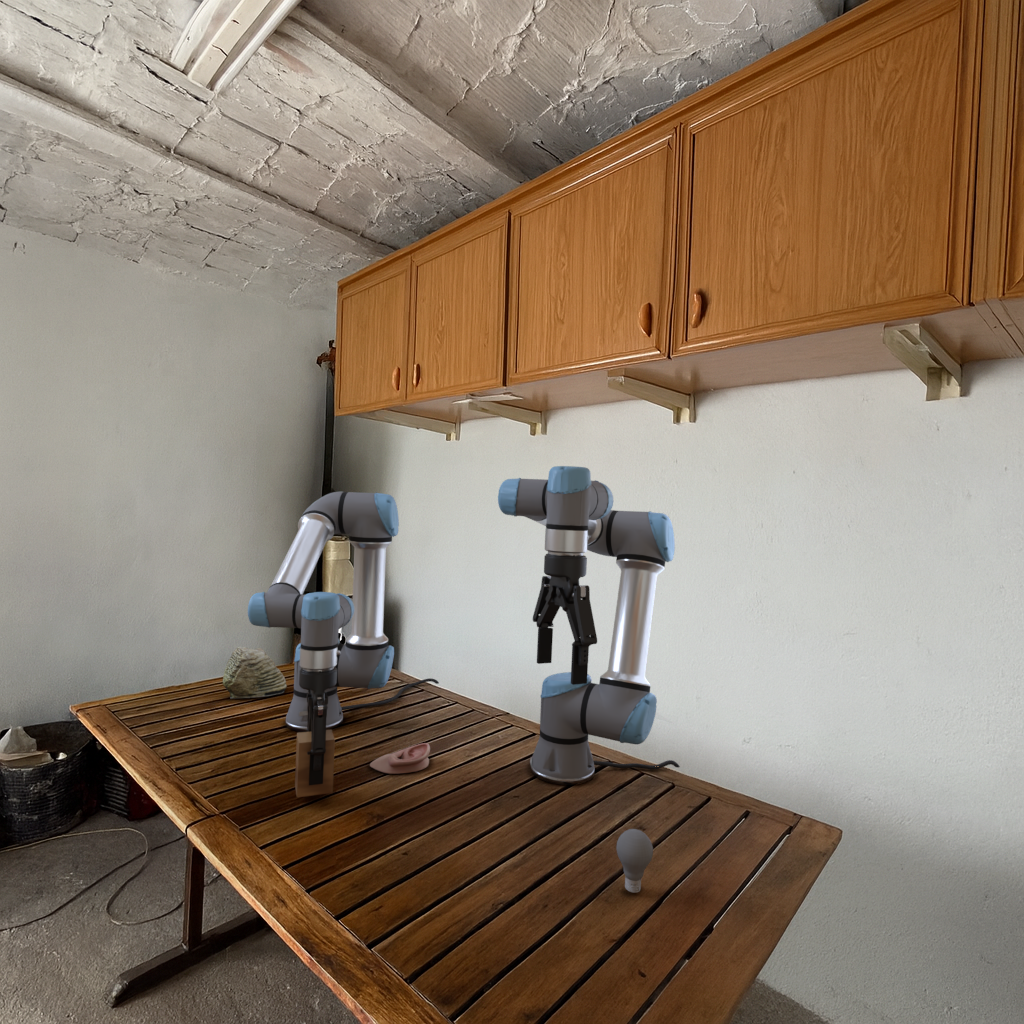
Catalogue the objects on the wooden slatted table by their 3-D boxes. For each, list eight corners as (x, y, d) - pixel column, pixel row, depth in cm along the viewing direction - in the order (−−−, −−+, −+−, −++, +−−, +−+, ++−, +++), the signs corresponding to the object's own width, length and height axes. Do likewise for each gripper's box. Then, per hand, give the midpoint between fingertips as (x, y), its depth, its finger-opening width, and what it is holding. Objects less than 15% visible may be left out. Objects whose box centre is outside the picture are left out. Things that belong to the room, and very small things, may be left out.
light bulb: (610, 879, 108) (613, 822, 108) (644, 879, 109) (647, 822, 109) (619, 902, 102) (622, 840, 102) (655, 901, 103) (658, 840, 103)
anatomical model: (364, 753, 147) (384, 735, 158) (364, 770, 147) (383, 751, 158) (419, 760, 144) (435, 742, 155) (418, 778, 144) (434, 758, 156)
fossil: (218, 695, 195) (220, 647, 195) (278, 685, 208) (279, 640, 207) (228, 703, 189) (230, 653, 188) (289, 692, 201) (290, 645, 201)
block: (296, 797, 129) (298, 743, 128) (294, 785, 134) (296, 732, 134) (332, 792, 131) (334, 739, 131) (329, 780, 137) (331, 729, 137)
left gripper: (343, 678, 125) (338, 794, 125) (331, 655, 143) (327, 757, 143) (303, 681, 122) (298, 799, 123) (296, 657, 140) (292, 761, 140)
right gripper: (622, 561, 102) (616, 691, 103) (553, 547, 125) (548, 654, 126) (581, 560, 99) (575, 695, 100) (518, 547, 122) (513, 656, 123)
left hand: (314, 776), depth 133 cm, fingers closed on block, 6 cm apart
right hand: (560, 672), depth 113 cm, fingers open, 13 cm apart
